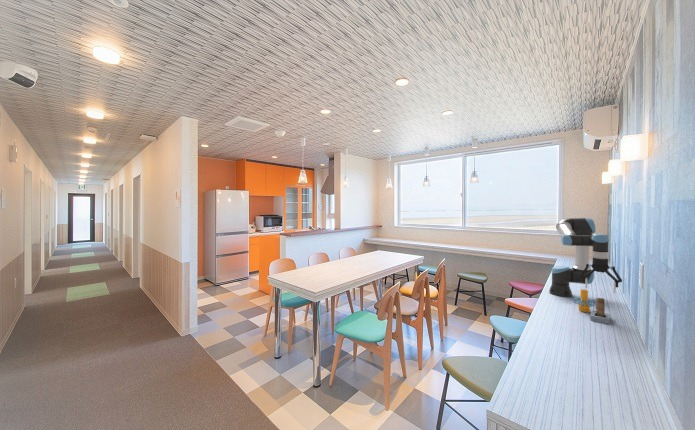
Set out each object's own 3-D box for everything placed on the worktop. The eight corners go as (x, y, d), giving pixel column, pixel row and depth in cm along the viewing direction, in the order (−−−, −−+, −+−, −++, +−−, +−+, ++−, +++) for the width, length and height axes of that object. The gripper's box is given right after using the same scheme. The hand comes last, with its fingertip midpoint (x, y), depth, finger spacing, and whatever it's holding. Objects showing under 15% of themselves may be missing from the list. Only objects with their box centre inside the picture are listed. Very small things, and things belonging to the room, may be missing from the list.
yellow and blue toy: (599, 314, 188) (599, 292, 187) (584, 314, 188) (584, 292, 188) (584, 307, 200) (584, 287, 200) (570, 307, 200) (569, 287, 200)
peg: (596, 318, 181) (596, 297, 181) (604, 319, 178) (604, 298, 178) (596, 320, 178) (595, 298, 178) (604, 321, 176) (604, 300, 175)
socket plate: (592, 314, 186) (592, 310, 186) (610, 318, 180) (610, 314, 180) (590, 320, 178) (590, 315, 178) (609, 324, 172) (609, 319, 172)
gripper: (574, 256, 184) (574, 287, 185) (627, 261, 166) (627, 295, 167) (576, 254, 189) (576, 285, 190) (627, 259, 171) (627, 292, 172)
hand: (600, 290), depth 178 cm, fingers open, 13 cm apart
